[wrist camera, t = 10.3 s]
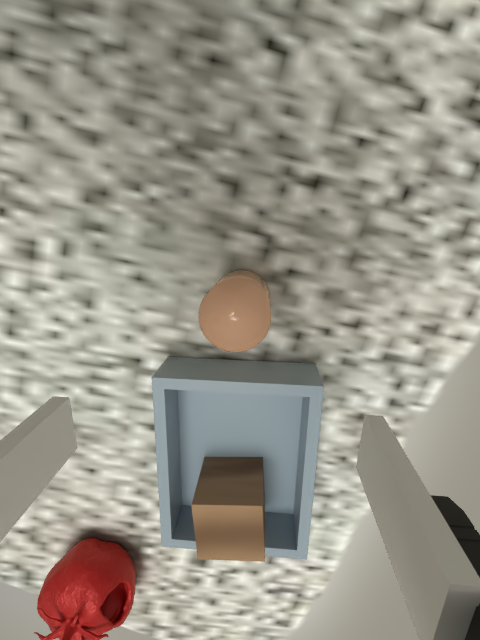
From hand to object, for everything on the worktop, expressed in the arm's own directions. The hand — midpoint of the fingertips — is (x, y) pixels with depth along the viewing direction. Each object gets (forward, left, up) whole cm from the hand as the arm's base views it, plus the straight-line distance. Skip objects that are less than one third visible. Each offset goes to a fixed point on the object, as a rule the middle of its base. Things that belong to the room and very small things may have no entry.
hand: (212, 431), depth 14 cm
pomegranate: (+30, -16, -16) cm, 38 cm away
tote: (+12, 0, -16) cm, 20 cm away
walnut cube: (+17, 0, -15) cm, 22 cm away
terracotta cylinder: (-3, 0, -16) cm, 16 cm away
